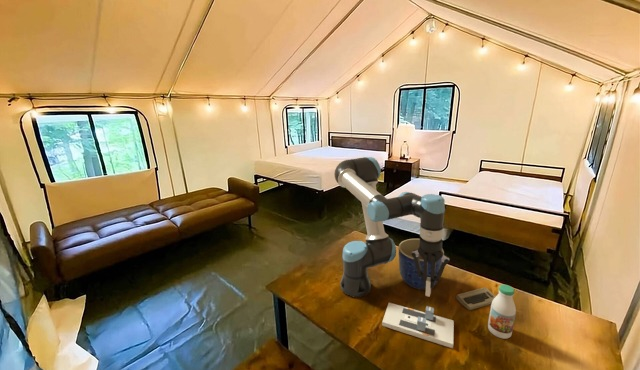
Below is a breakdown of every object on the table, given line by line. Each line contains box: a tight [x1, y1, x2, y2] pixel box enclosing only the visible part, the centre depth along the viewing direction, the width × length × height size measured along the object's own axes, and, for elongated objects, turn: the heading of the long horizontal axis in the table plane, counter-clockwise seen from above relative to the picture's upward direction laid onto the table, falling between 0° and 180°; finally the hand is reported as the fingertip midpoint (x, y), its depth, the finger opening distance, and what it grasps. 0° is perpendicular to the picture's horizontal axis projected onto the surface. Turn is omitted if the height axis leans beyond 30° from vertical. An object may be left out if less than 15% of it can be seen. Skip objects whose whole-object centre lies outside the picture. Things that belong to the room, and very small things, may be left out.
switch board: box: [381, 302, 455, 349], centre depth 106 cm, size 26×12×2 cm, turn 63°
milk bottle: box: [487, 284, 517, 340], centre depth 99 cm, size 8×8×20 cm
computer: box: [455, 287, 497, 311], centre depth 117 cm, size 16×8×3 cm, turn 105°
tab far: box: [425, 305, 435, 320], centre depth 106 cm, size 3×2×4 cm
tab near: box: [417, 316, 426, 332], centre depth 101 cm, size 3×2×4 cm
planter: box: [397, 238, 445, 290], centre depth 129 cm, size 21×21×19 cm
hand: (428, 293), depth 99 cm, fingers closed
